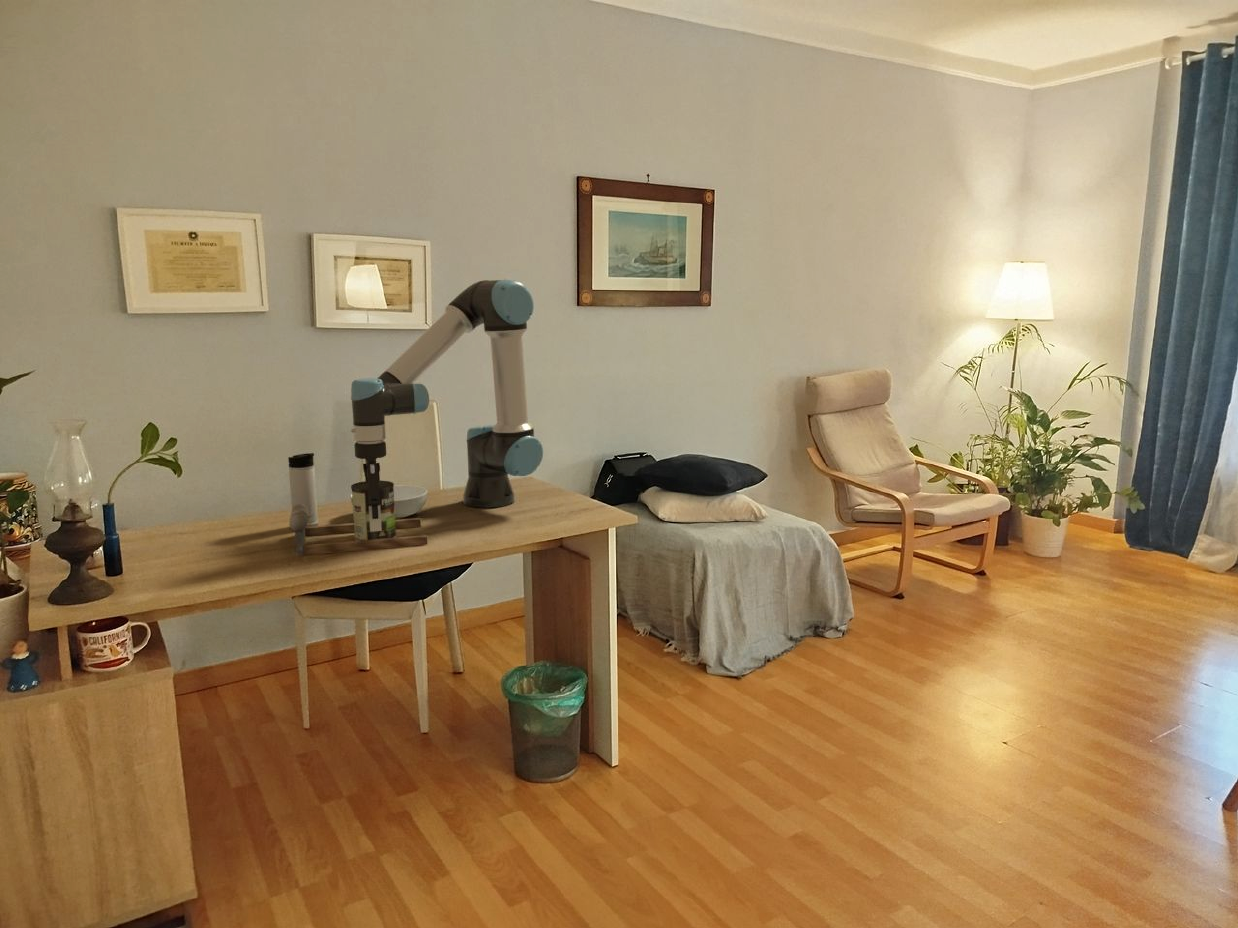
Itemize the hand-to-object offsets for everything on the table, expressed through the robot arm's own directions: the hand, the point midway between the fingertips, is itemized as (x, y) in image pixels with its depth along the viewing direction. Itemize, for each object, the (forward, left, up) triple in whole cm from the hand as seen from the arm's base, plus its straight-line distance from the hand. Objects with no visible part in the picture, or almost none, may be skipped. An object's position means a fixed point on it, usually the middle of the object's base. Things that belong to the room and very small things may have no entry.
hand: (374, 524), depth 216 cm
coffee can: (0, 0, -4) cm, 4 cm away
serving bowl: (-5, -22, -4) cm, 23 cm away
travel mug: (+17, -17, -4) cm, 24 cm away
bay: (+3, 0, -4) cm, 5 cm away
